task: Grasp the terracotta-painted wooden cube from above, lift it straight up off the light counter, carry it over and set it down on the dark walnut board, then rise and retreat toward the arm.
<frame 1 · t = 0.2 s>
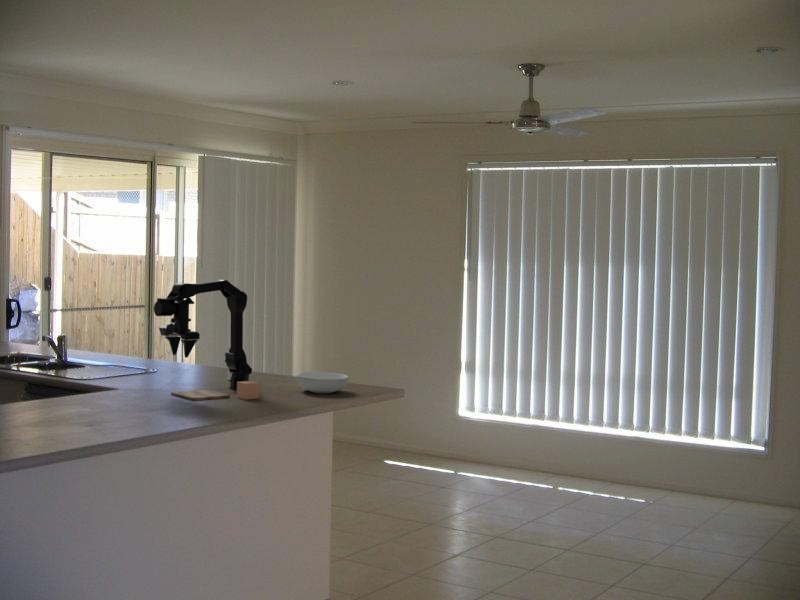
hand: (180, 356, 361), 14 cm above the worktop, fingers open, 9 cm apart
walnut board: (200, 396, 357), on the worktop
syrup box: (235, 380, 405), on the worktop
serving bowl: (321, 392, 381), on the worktop
terracotta cube: (247, 397, 358), on the worktop
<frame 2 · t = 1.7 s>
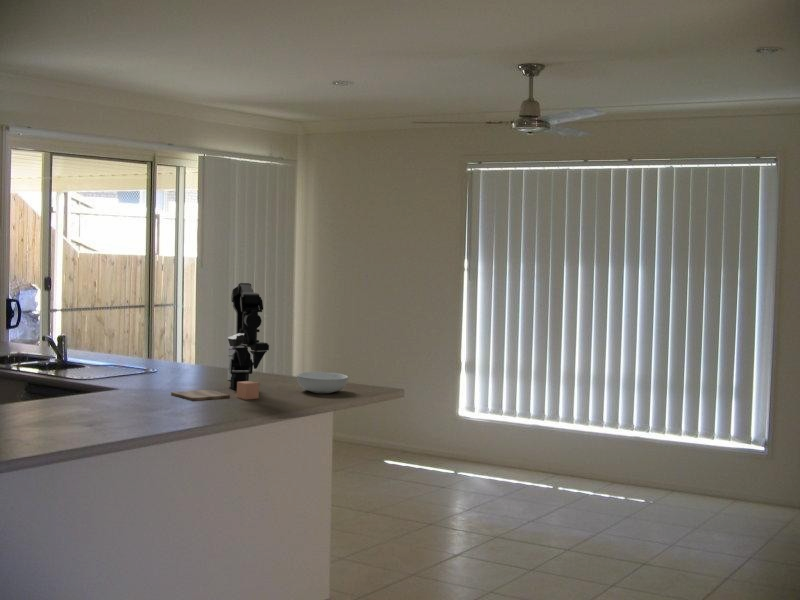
hand: (248, 367, 358), 12 cm above the worktop, fingers open, 9 cm apart
nothing on the worktop moved.
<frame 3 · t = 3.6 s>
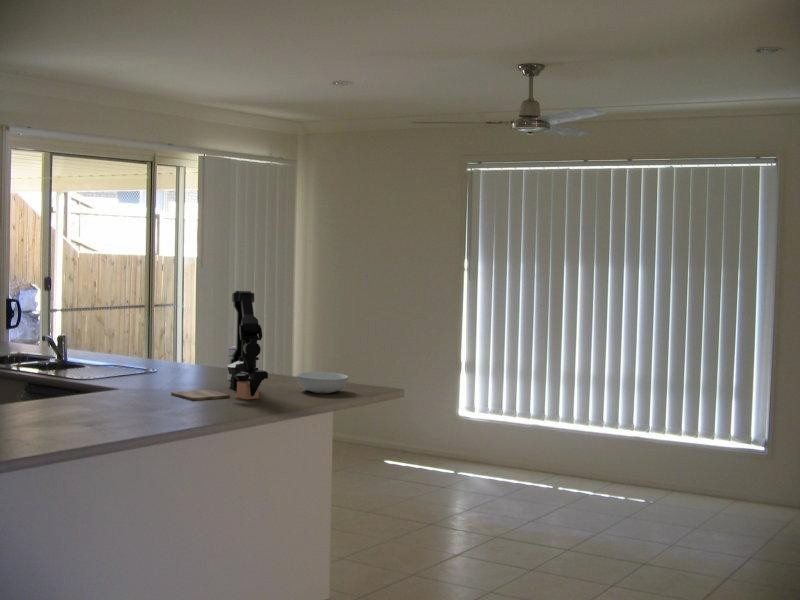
hand: (247, 394, 358), 1 cm above the worktop, fingers closed on terracotta cube, 6 cm apart
terracotta cube: (247, 397, 359), on the worktop, touching gripper
everything else where it was.
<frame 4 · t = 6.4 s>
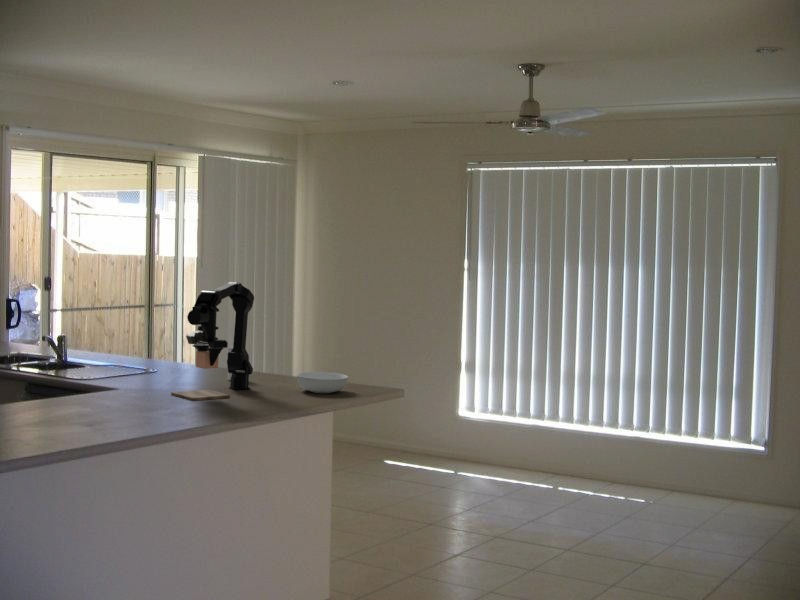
hand: (207, 364, 357), 12 cm above the worktop, fingers closed on terracotta cube, 6 cm apart
terracotta cube: (207, 367, 357), point 11 cm above the worktop, touching gripper
everything else where it was.
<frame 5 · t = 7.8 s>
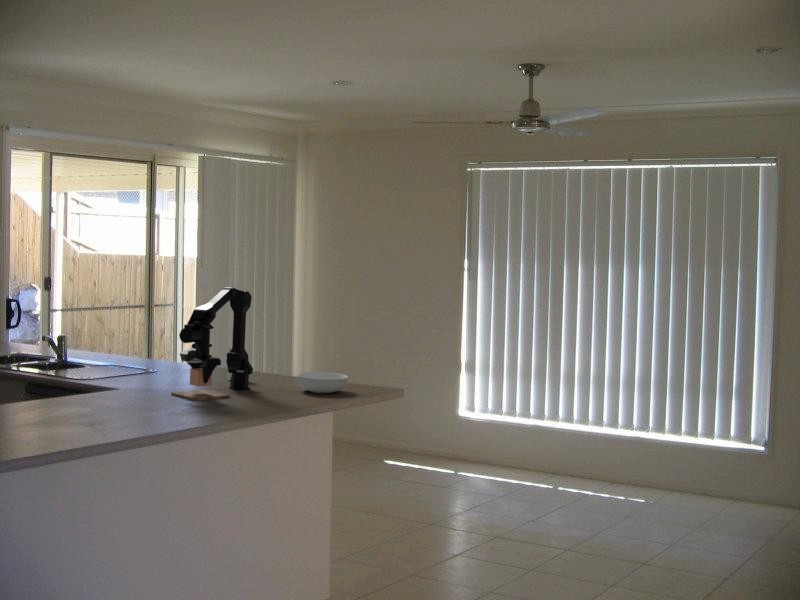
hand: (201, 382, 357), 5 cm above the worktop, fingers closed on terracotta cube, 6 cm apart
terracotta cube: (200, 384, 357), point 4 cm above the worktop, touching gripper
everything else where it was.
when the fingers open (3 cm above the worktop, at t = 9.1 s): terracotta cube drops 1 cm, resting on walnut board.
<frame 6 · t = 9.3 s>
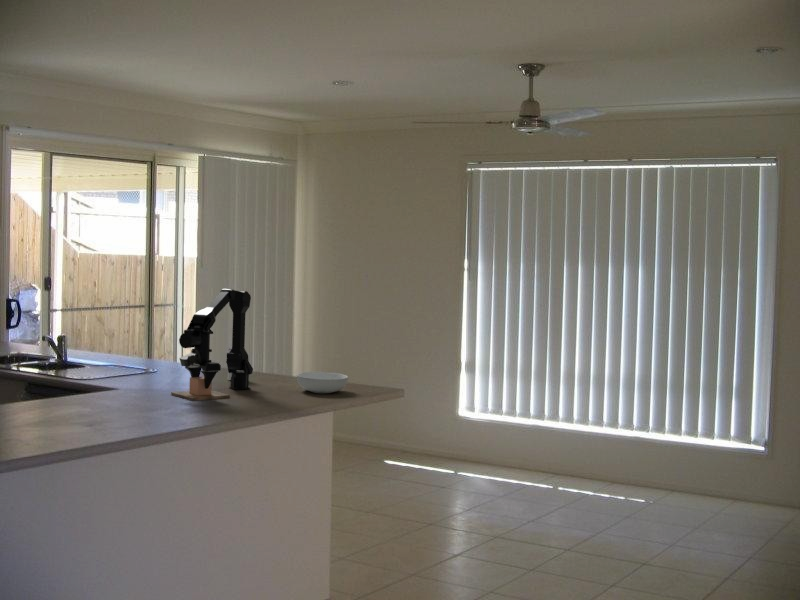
hand: (200, 387, 357), 3 cm above the worktop, fingers open, 8 cm apart
terracotta cube: (200, 393, 357), point 1 cm above the worktop, touching walnut board
everything else where it was.
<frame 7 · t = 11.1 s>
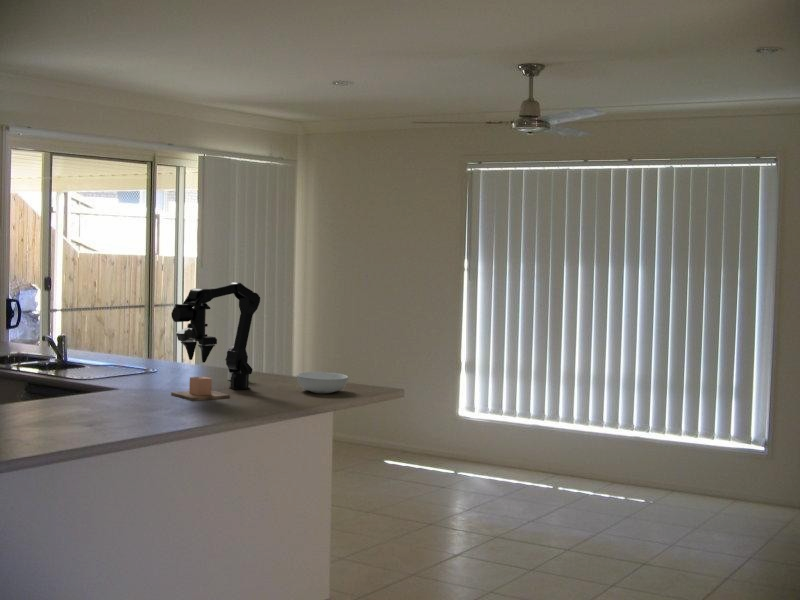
hand: (197, 361, 364), 12 cm above the worktop, fingers open, 9 cm apart
nothing on the worktop moved.
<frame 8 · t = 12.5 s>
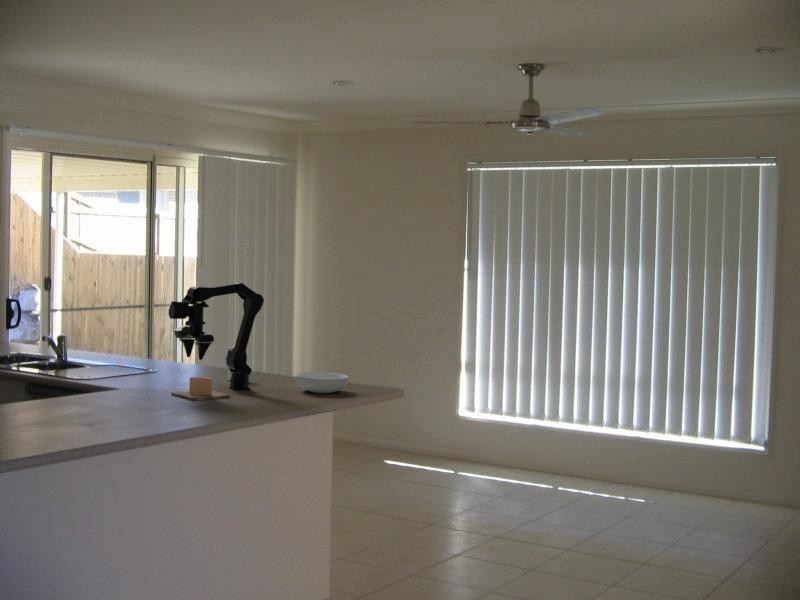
hand: (194, 358, 368), 13 cm above the worktop, fingers open, 9 cm apart
nothing on the worktop moved.
at the end: terracotta cube inside the target area on the walnut board (0.1 cm from its centre), point 1.0 cm above the walnut board's base; terracotta cube tilted 0°; the gripper is holding nothing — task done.
